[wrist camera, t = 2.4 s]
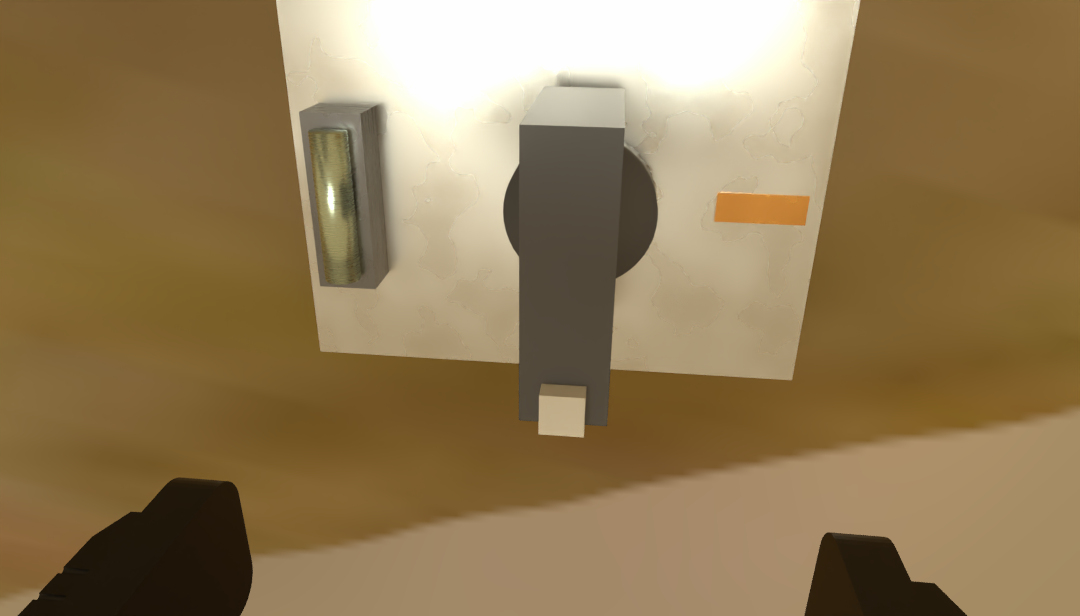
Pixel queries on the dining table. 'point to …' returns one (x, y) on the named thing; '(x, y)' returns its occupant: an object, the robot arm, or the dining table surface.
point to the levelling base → (493, 155)
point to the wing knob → (573, 249)
